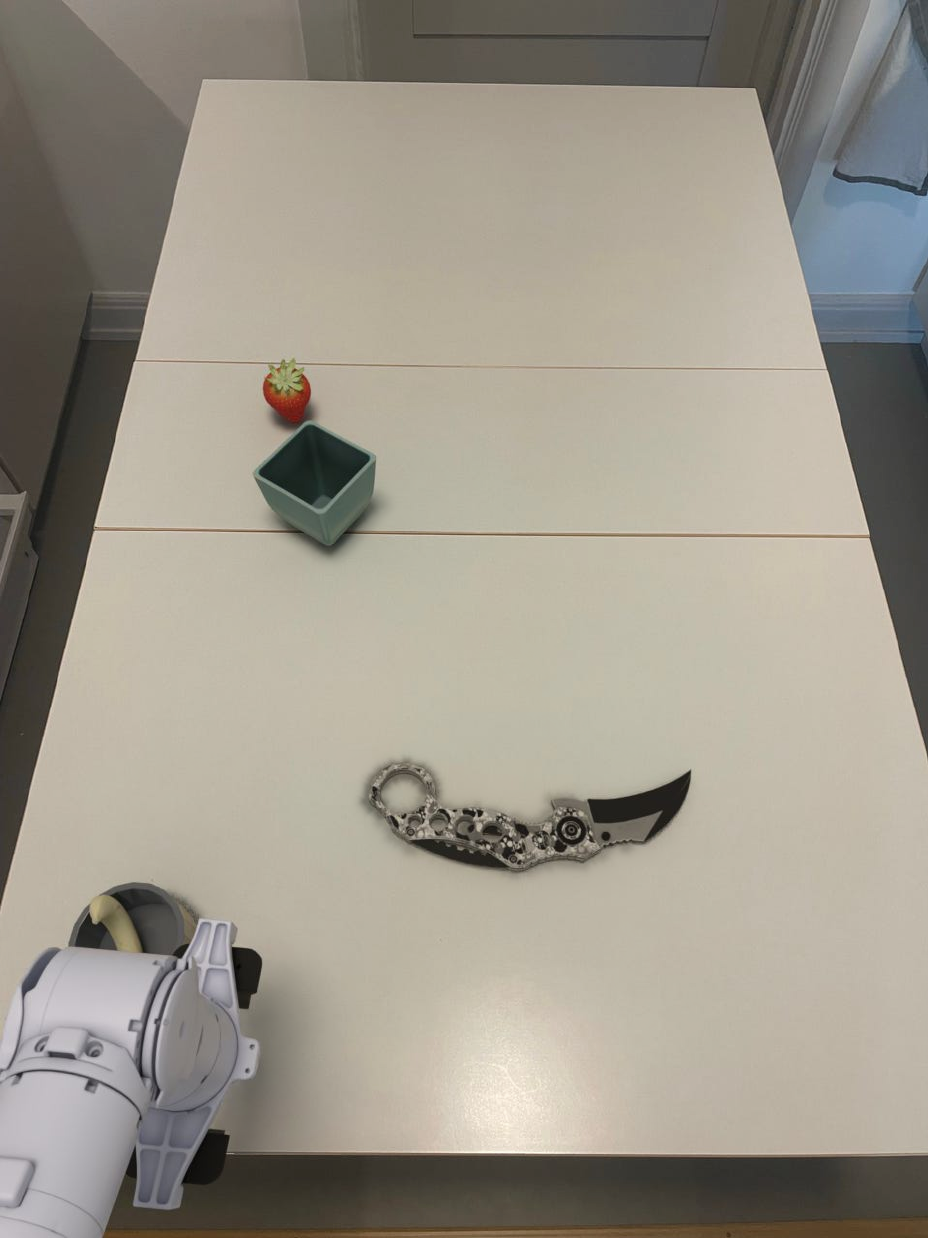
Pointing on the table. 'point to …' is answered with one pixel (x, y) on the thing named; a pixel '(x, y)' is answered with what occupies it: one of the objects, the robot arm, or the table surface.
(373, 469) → the flower pot
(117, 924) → the fruit
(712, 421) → the table surface
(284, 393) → the fruit
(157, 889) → the holder
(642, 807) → the knife
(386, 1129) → the table surface
